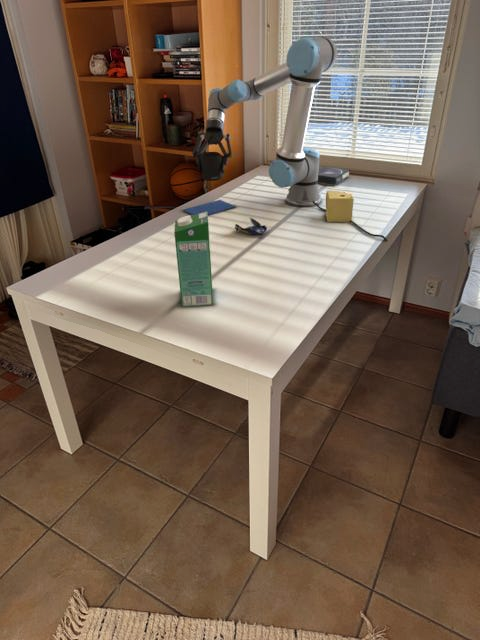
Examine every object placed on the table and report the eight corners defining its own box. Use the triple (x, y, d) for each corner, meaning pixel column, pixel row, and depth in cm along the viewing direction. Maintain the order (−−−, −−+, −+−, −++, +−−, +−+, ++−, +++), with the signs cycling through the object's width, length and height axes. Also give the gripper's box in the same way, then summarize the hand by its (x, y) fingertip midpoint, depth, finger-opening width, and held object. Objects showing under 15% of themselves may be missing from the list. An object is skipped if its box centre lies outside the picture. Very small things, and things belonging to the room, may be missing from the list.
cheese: (349, 213, 197) (351, 190, 192) (352, 222, 188) (354, 198, 183) (324, 213, 198) (326, 190, 193) (325, 222, 189) (327, 198, 184)
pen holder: (198, 180, 199) (196, 156, 194) (206, 174, 206) (205, 151, 201) (218, 182, 196) (217, 157, 191) (226, 176, 203) (225, 152, 198)
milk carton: (182, 291, 142) (174, 212, 129) (212, 290, 143) (207, 210, 130) (181, 306, 135) (173, 223, 121) (213, 304, 135) (208, 222, 122)
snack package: (249, 225, 189) (229, 232, 182) (251, 210, 185) (231, 217, 178) (272, 237, 183) (252, 245, 176) (274, 222, 179) (254, 230, 172)
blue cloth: (235, 207, 208) (235, 206, 207) (198, 218, 197) (198, 216, 197) (219, 201, 216) (219, 199, 215) (183, 210, 205) (183, 209, 205)
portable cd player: (336, 185, 232) (336, 177, 230) (304, 181, 240) (305, 173, 238) (348, 177, 243) (349, 169, 241) (318, 173, 251) (319, 166, 249)
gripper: (241, 129, 204) (237, 176, 199) (191, 129, 206) (186, 175, 201) (239, 118, 196) (235, 166, 192) (188, 118, 199) (183, 166, 194)
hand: (210, 171), depth 196 cm, fingers closed on pen holder, 9 cm apart
